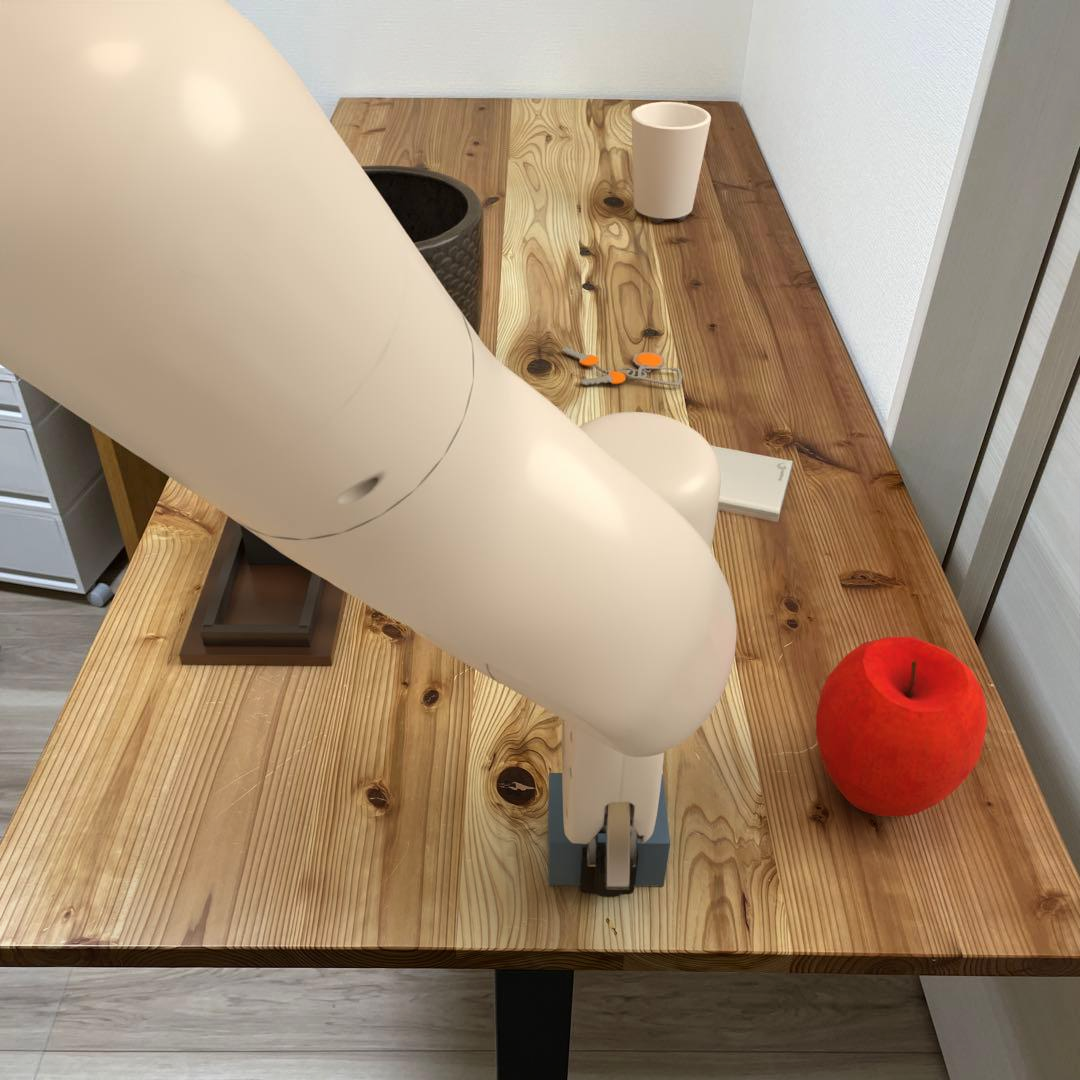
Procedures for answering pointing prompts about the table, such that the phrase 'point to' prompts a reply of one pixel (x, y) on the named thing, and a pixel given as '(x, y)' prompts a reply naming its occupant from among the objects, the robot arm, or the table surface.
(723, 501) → the hard drive
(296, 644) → the backing board
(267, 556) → the pad
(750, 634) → the table surface
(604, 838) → the blue-grey rectangular block
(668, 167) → the cup
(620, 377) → the key chain
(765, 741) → the table surface
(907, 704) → the apple
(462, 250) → the planter
